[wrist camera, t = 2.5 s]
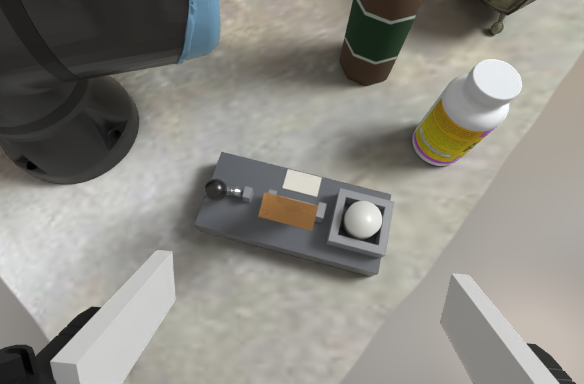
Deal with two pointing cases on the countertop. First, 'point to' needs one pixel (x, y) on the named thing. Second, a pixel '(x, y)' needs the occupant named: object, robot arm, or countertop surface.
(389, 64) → the beer bottle
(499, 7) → the tabletop clock
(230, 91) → the countertop surface
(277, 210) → the paddle lever
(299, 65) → the countertop surface
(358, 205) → the push button
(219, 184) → the toggle switch
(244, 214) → the switch panel
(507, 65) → the supplement bottle
